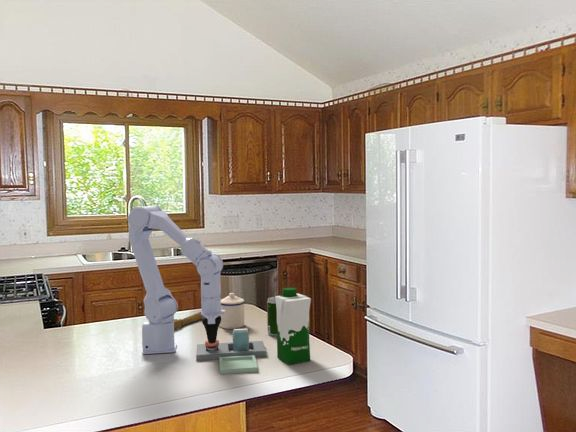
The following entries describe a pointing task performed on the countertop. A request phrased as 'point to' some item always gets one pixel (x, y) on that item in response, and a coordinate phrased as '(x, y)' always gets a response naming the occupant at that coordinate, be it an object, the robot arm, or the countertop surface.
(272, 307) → the beer can
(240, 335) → the rotary knob
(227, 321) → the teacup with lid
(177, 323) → the tap handle
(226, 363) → the tray
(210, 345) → the plunger
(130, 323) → the countertop surface
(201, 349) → the housing
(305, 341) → the milk carton
